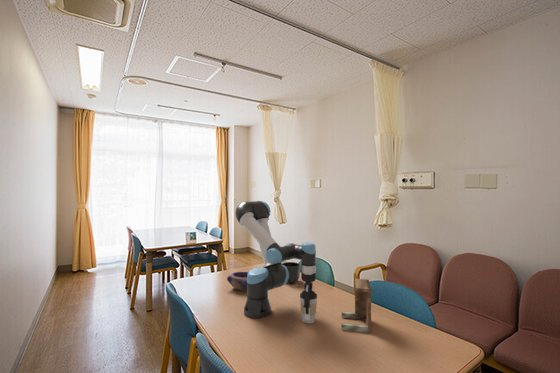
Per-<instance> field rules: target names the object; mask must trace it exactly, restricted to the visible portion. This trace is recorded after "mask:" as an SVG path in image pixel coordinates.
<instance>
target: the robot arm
mask: <svg viewBox="0 0 560 373" xmlns="http://www.w3.org/2000/svg"><path fill="white" fill-rule="evenodd" d="M270 216H271V208H270V205H269V204H268V203H267V202H266V201H262V200H256V201H255V200H254V201H242V202H241V203H239V204H238V205H237V207H236V209H235V218H236V220H237V222H238V223H239V225H241V226H243V227H244V228H245V229H246V230H247V231H248V233H249V234H251V236H252V237H253V238H254V240H255V241H256V242H257V243H258V245H259V248H260V253H261V257H262V260H263V266H262V267H256V268H255V267H254V268H252V269H251V270H248V271H247V272H248V275H247V290H246V301H245V304H244V306H243V314H244V315H245V316H246V317H248V318H252V319H259V318H260V319H261V318H262V319H263V318H265V317H267V316H269V315H270V314H271V313H272V306H271V303H270V299H269V291H271V290H274V289H277V288H281V287H282V286H283V287H284V286H285V285H286V284H288V283H287V281H288V278H289V272H288V269H287V268H286V267H285V266H284V265H282V264H283V263H282V262H286V261H290V260H294V259H296V260H299V261H301V263H300V274H301V276H300V277H301V279H300V280H301V281H303V282H304V286H303V287H304V288H303V289H304V290H303V291H304V292H305V294H304V306H303V307H304V308H305V320H310V294H311V290H312V291H313V282H316V279H317V277H316V272H317V271H316V269H318V268H317V266H316V258H317V257H316V256H317V255H316V254H317V250H316V249H317V248H316V244H315V243H314V242H306V241H305V242H302V243H301V244H296V243H291V242H290V243H286V244H285V245H283V246H280V244H278V242H276V240H275V239H274V238H273V237H272V233H271V231H270V227H269V220H270V218H269V217H270Z"/></svg>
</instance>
